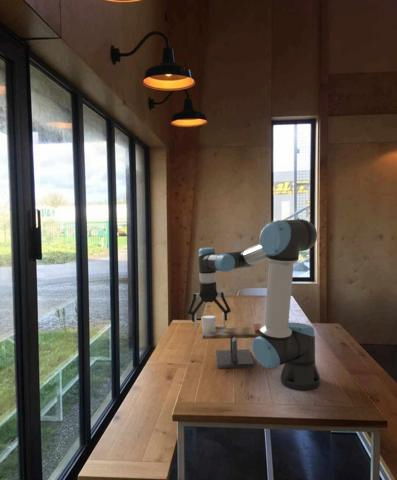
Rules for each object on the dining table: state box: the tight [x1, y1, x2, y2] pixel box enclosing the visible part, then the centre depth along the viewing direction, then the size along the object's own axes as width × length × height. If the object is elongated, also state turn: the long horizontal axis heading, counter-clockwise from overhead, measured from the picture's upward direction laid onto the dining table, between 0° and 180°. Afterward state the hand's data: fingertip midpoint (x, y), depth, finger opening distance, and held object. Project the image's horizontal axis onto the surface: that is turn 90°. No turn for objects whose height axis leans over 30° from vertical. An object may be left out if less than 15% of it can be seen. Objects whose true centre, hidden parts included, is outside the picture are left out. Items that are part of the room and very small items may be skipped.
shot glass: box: [200, 314, 217, 333], centre depth 180 cm, size 7×7×7 cm
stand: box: [215, 326, 255, 369], centre depth 180 cm, size 16×18×13 cm
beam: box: [201, 323, 263, 341], centre depth 180 cm, size 28×11×4 cm, turn 90°
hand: (209, 328), depth 180 cm, fingers open, 12 cm apart
